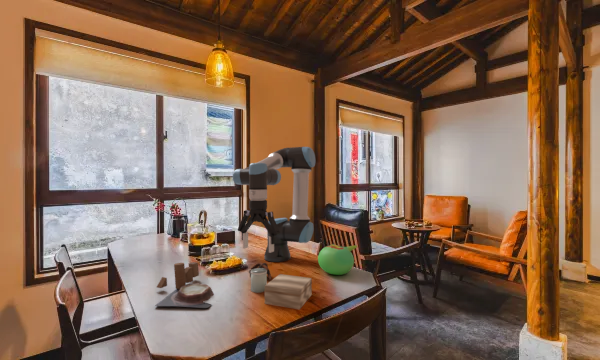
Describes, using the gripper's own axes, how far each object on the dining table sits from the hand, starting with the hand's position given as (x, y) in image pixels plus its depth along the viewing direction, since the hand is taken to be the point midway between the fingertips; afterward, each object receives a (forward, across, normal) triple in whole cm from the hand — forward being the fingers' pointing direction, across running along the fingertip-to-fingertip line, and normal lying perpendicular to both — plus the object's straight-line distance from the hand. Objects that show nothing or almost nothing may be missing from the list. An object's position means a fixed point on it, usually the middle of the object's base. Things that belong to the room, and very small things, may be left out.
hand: (258, 249), depth 121 cm
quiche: (+18, -19, -18) cm, 31 cm away
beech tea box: (+17, +16, -2) cm, 24 cm away
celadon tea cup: (+17, 0, 0) cm, 17 cm away
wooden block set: (+17, -32, -13) cm, 38 cm away
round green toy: (+17, +21, +36) cm, 45 cm away
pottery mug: (+18, -6, +13) cm, 23 cm away
